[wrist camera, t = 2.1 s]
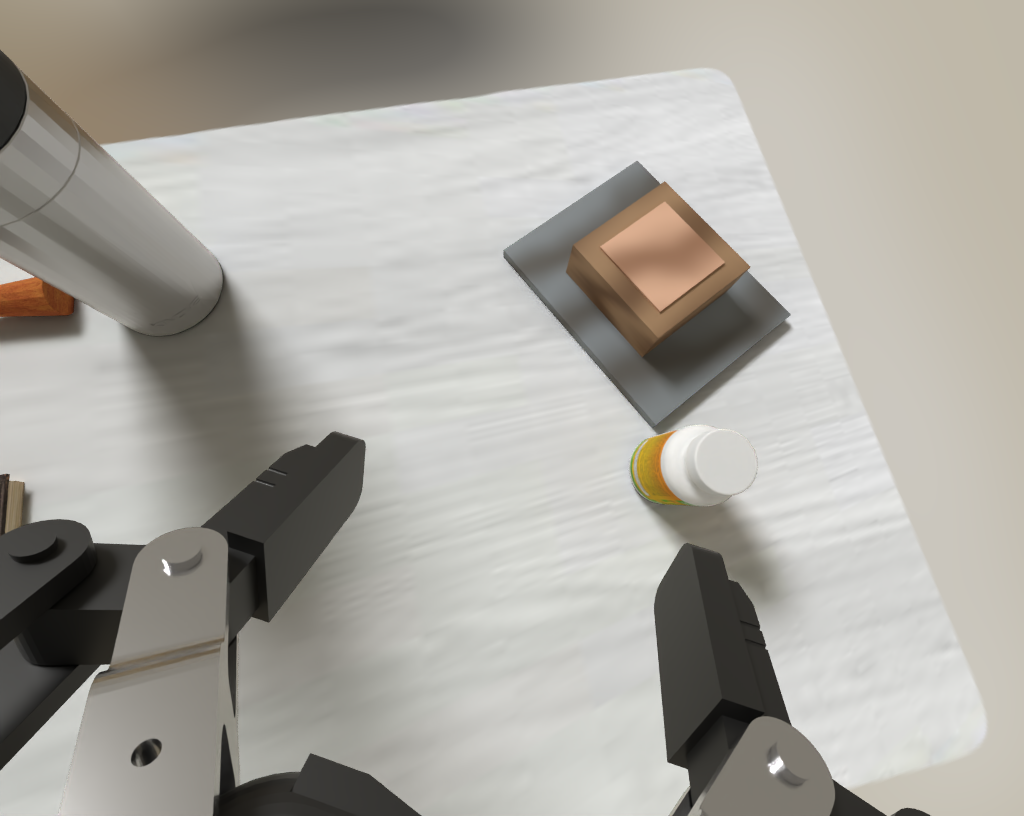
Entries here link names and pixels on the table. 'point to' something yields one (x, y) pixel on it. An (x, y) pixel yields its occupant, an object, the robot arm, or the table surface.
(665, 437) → the supplement bottle
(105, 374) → the table surface
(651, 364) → the grey brown stepped block
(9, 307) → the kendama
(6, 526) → the hardcover book
